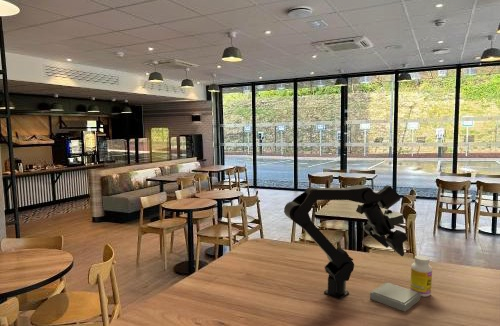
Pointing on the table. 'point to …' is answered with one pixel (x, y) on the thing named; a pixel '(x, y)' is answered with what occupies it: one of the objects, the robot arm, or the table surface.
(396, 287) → the slate base
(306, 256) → the table surface
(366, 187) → the robot arm
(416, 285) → the supplement bottle
